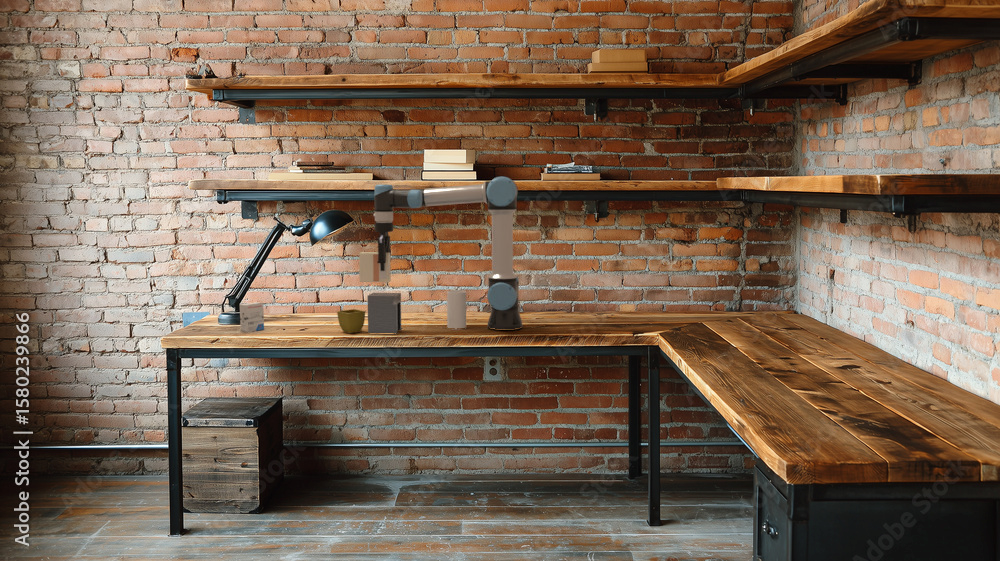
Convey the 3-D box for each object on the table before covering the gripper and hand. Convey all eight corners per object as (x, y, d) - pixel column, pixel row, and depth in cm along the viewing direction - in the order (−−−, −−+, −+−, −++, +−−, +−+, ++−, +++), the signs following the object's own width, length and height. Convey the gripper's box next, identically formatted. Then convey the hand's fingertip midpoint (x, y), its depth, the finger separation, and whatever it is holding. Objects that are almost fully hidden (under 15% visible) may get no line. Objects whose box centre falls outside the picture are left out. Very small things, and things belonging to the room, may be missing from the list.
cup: (449, 329, 315) (449, 292, 313) (445, 326, 323) (445, 290, 321) (468, 328, 317) (468, 292, 315) (463, 325, 325) (463, 289, 323)
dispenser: (401, 330, 314) (400, 292, 312) (396, 334, 304) (396, 296, 303) (373, 329, 315) (372, 292, 313) (368, 334, 305) (367, 295, 303)
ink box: (258, 328, 318) (257, 301, 316) (264, 329, 315) (263, 302, 313) (240, 331, 311) (239, 303, 310) (246, 332, 308) (245, 304, 307)
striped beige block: (390, 281, 310) (390, 252, 308) (388, 282, 305) (388, 253, 303) (362, 280, 310) (362, 252, 309) (359, 281, 305) (359, 253, 304)
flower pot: (336, 332, 310) (336, 311, 309) (354, 329, 316) (354, 308, 315) (348, 334, 303) (348, 313, 302) (366, 332, 309) (365, 311, 308)
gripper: (379, 221, 313) (380, 275, 316) (369, 222, 296) (370, 280, 298) (397, 221, 313) (397, 275, 316) (388, 223, 295) (389, 280, 298)
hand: (384, 277), depth 307 cm, fingers closed on striped beige block, 5 cm apart
